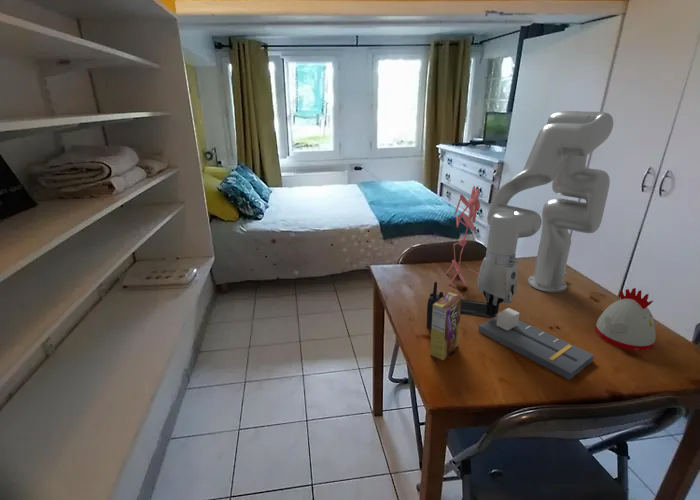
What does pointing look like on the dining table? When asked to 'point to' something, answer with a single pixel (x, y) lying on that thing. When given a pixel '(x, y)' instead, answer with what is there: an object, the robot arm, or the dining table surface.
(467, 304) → the phone
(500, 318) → the fader cap
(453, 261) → the figurine
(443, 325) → the candy box
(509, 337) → the fader console
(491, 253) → the robot arm
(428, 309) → the two-way radio
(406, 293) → the dining table surface
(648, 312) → the kitchen timer
